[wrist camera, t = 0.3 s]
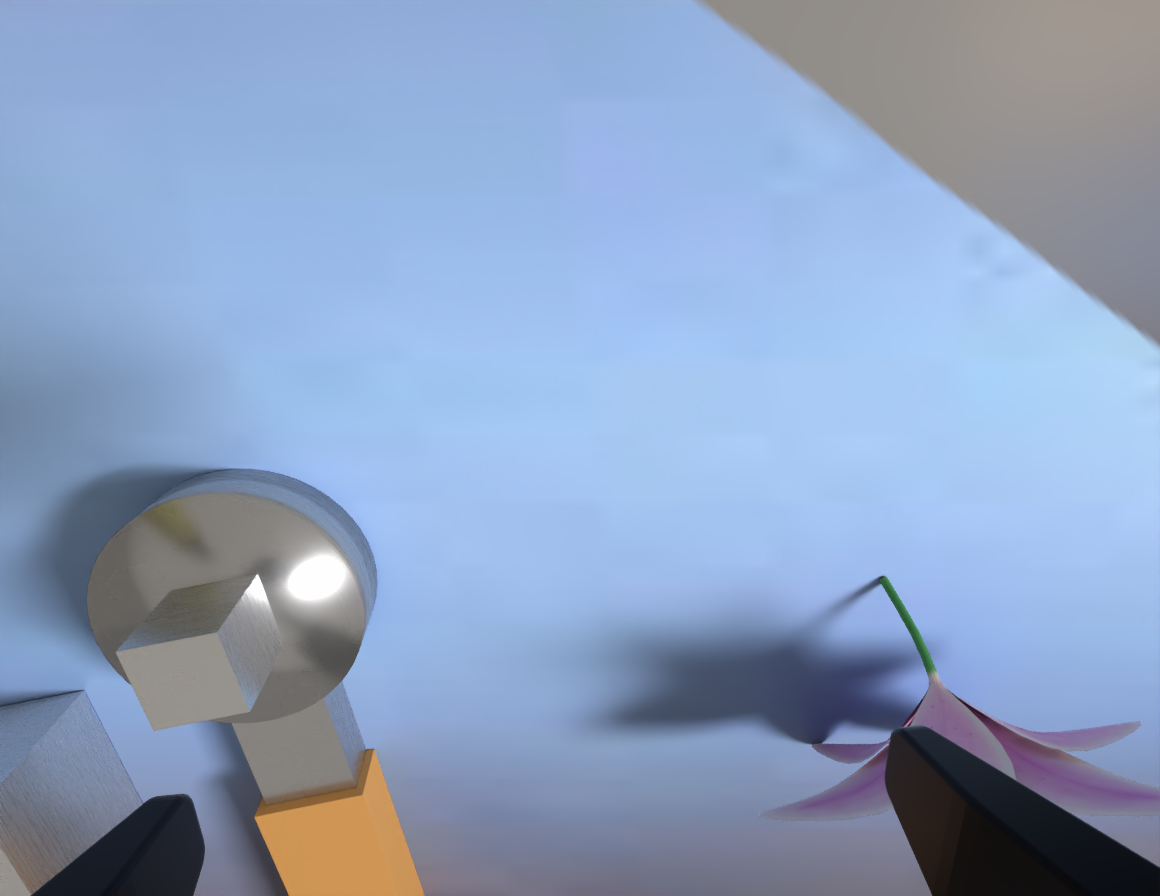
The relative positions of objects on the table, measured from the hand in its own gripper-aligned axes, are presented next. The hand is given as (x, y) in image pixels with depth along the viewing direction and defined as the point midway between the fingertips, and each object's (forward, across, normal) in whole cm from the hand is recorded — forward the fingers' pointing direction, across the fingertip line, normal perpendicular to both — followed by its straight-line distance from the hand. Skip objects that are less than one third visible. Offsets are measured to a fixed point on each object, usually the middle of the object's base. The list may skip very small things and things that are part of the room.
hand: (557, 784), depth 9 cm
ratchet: (+14, +9, +10) cm, 20 cm away
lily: (+15, -14, +10) cm, 23 cm away
